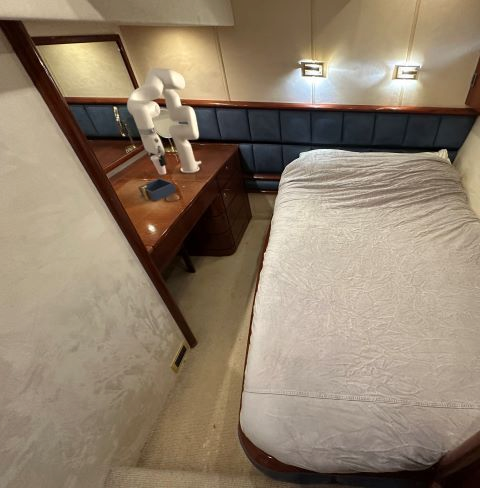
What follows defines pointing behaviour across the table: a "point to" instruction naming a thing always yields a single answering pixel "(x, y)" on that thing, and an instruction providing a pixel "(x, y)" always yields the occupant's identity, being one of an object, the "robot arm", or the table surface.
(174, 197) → the coaster
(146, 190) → the drawer
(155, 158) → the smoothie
